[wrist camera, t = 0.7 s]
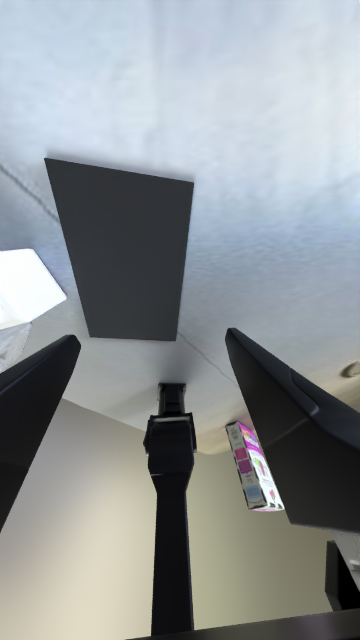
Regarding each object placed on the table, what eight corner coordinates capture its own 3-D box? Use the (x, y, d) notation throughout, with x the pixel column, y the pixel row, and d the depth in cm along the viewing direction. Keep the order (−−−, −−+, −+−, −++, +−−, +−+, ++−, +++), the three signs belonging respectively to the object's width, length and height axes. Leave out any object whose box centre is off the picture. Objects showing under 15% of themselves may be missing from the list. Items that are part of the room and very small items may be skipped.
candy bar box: (223, 426, 46) (247, 510, 32) (237, 420, 45) (268, 505, 30) (240, 436, 51) (267, 513, 37) (253, 431, 49) (286, 509, 35)
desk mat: (175, 339, 27) (175, 341, 27) (91, 335, 26) (89, 337, 25) (193, 184, 16) (194, 182, 16) (47, 160, 15) (43, 157, 14)
